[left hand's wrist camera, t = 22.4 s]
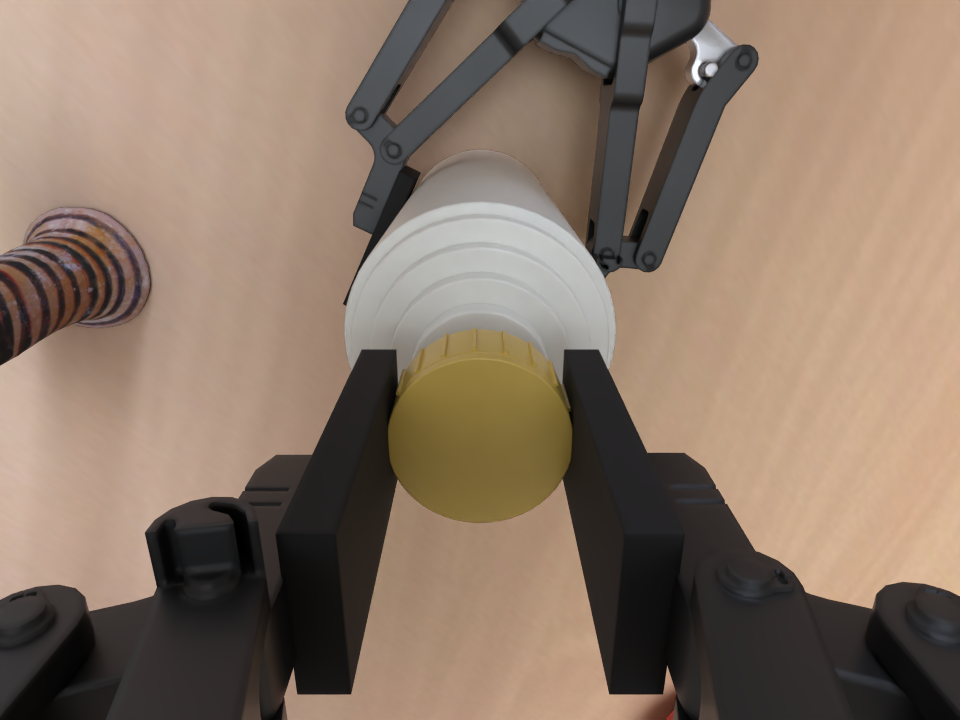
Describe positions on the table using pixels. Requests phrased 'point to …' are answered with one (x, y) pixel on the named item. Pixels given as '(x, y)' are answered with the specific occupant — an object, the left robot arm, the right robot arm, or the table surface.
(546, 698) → the table surface
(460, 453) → the cap
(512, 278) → the bottle
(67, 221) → the figurine
